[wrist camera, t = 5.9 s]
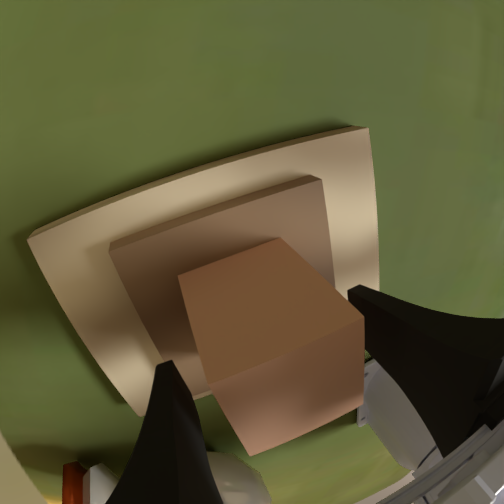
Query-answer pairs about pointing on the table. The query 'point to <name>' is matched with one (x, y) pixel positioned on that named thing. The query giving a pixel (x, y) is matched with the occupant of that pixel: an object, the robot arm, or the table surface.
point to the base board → (205, 247)
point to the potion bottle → (222, 467)
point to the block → (275, 343)
